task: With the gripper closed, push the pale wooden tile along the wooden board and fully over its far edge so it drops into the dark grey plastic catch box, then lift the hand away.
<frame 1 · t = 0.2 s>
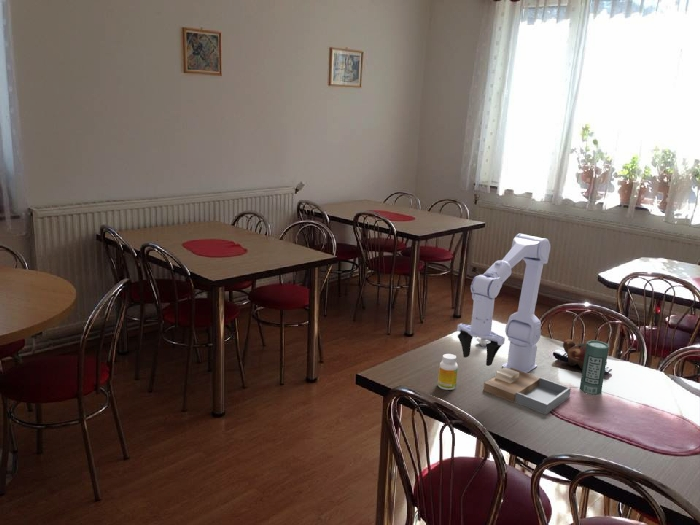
hand: (477, 360, 181), 10 cm above the table, tool pointing down, fingers open, 7 cm apart
supplement bottle: (446, 386, 186), on the table
can: (590, 390, 188), on the table
wooden tile: (507, 378, 188), point 2 cm above the table, touching wooden board
screw: (483, 345, 219), on the table
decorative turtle: (581, 367, 205), on the table
wooden board: (512, 388, 187), on the table
catch box: (541, 399, 181), on the table
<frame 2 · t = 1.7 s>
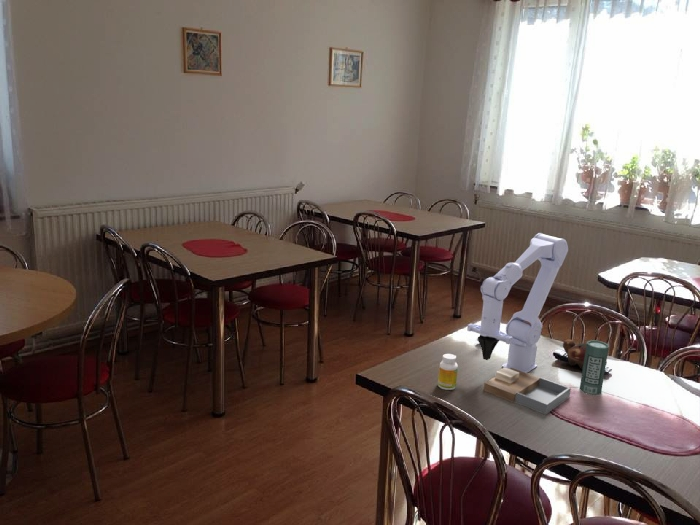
hand: (486, 358, 191), 6 cm above the table, tool pointing down, fingers closed
nothing on the table moved.
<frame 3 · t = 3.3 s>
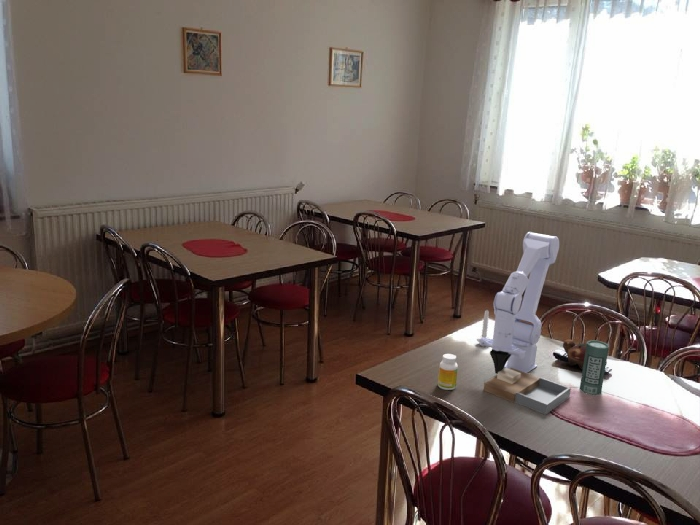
hand: (498, 372, 189), 3 cm above the table, tool pointing down, fingers closed
wooden tile: (508, 378, 187), point 3 cm above the table, touching gripper, wooden board
everything else where it was.
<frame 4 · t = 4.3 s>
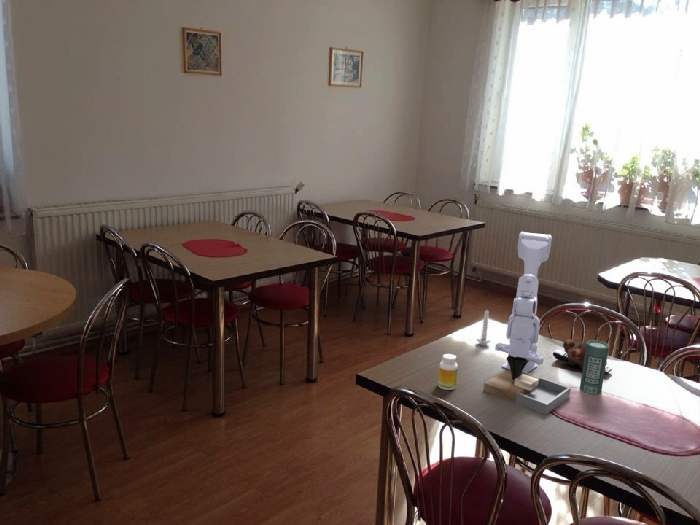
hand: (515, 379, 186), 3 cm above the table, tool pointing down, fingers closed
wooden tile: (526, 385, 184), point 3 cm above the table, touching gripper, wooden board
everything else where it was.
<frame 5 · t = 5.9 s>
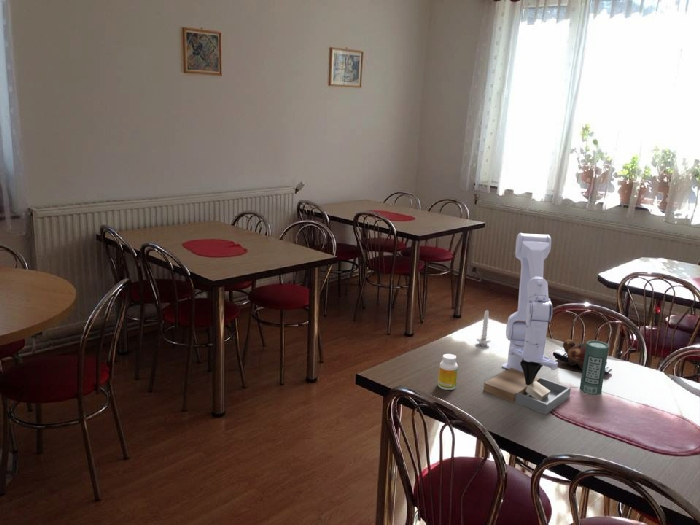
hand: (529, 384, 183), 3 cm above the table, tool pointing down, fingers closed
wooden tile: (536, 393, 182), point 1 cm above the table, tilted 17°, touching gripper
everything else where it was.
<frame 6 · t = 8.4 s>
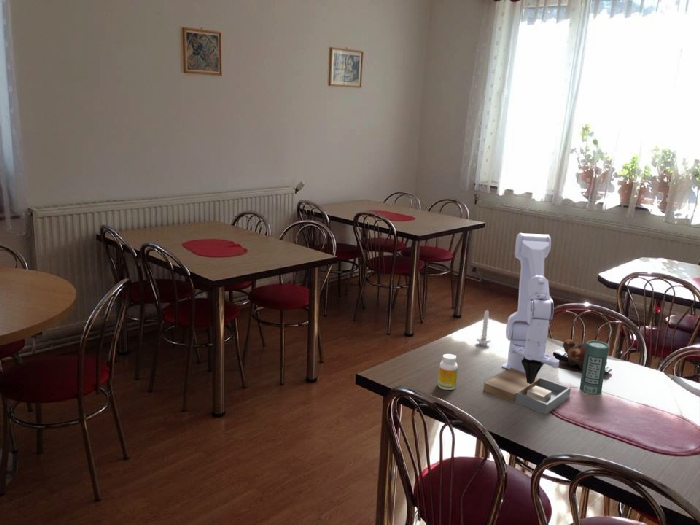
hand: (530, 382, 182), 4 cm above the table, tool pointing down, fingers closed
wooden tile: (538, 397, 181), resting on catch box
everything else where it was.
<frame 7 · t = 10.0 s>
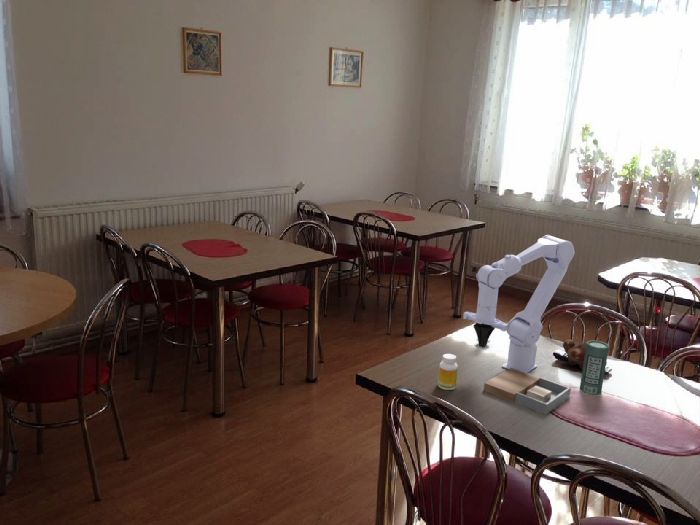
hand: (482, 346, 193), 9 cm above the table, tool pointing down, fingers closed
nothing on the table moved.
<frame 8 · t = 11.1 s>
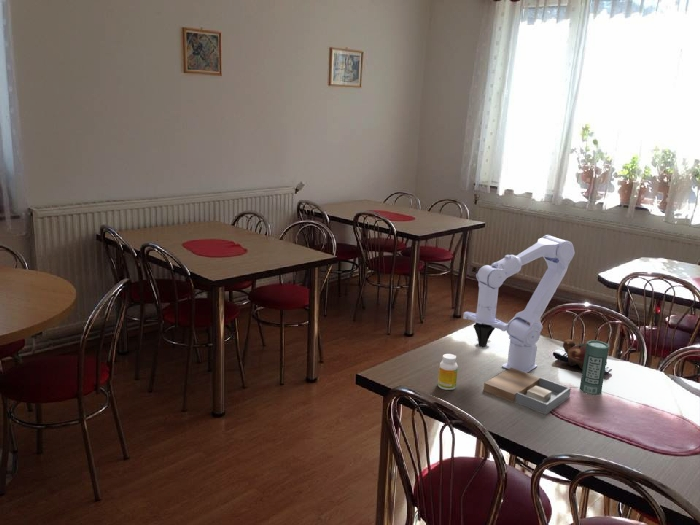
hand: (482, 346, 193), 9 cm above the table, tool pointing down, fingers closed
nothing on the table moved.
at the end: wooden tile inside the target area on the catch box (0.8 cm from its centre), point 0.4 cm above the catch box's base; wooden tile touching catch box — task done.
